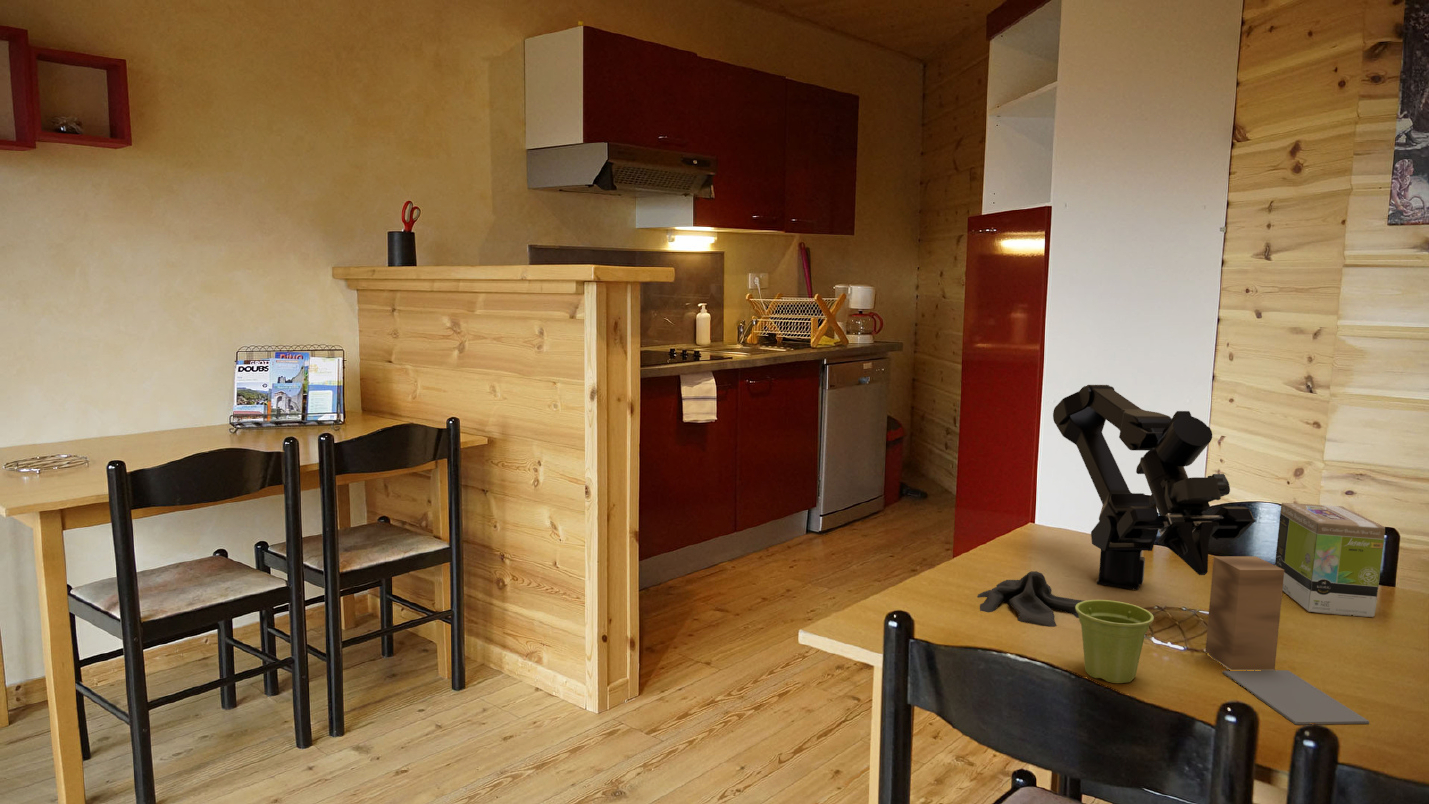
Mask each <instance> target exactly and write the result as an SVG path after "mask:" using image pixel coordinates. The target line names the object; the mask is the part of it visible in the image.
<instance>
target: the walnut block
mask: <svg viewBox="0 0 1429 804" xmlns="http://www.w3.org/2000/svg"><path fill="white" fill-rule="evenodd" d="M1211 572H1212V573H1211V581H1210V583H1211V584H1210V594H1209V595H1210V597H1209V607H1208V618H1207V629H1206V639H1205V641H1206V643H1205V652H1207V653H1209V655H1210V656H1211V657H1212V658H1213V659H1212V658H1211V657H1210V658H1211V659H1212V660H1214V659H1215V660H1216V661H1218V662H1220V663H1221V664H1222V665H1223V667H1224V666H1225V667H1226V668H1225V667H1224V668H1225V669H1227V670H1228V669H1230V670H1246V671H1247V670H1254V671H1255V670H1275V669H1276V661H1277V649H1278V642H1279V641H1278V639H1279V628H1280V619H1281V618H1280V617H1281V609H1282V608H1281V607H1282V597H1283V590H1282V589H1283V579H1284V569H1282V568H1279V567H1277V566H1275V564H1272V563H1270V562H1268V561H1267V560H1264V559H1262V558H1260V557H1259V556H1252V555H1251V556H1249V555H1248V556H1246V555H1245V556H1243V555H1242V556H1238V555H1237V556H1228V555H1227V556H1213V561H1212V571H1211ZM1215 660H1214V661H1215ZM1216 661H1215V662H1216ZM1218 662H1217V663H1218ZM1221 664H1220V665H1221ZM1222 665H1221V666H1222Z"/></svg>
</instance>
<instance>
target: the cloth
mask: <svg viewBox="0 0 1429 804" xmlns="http://www.w3.org/2000/svg"><path fill="white" fill-rule="evenodd" d="M1051 592H1052V588H1051V586H1050V585H1049V584H1048V583H1047V580H1046V578H1045V576H1044V574H1043V573H1042V572H1039V571H1034V570H1033V571H1029V572H1028V573H1026V574H1025V575H1024V576H1022V577H1021V578H1020V579H1006V580H1002V581H1000V582H999V583H998V584H996V586H995V587H993V588H991V589H988V590H985V591H983V592H980V593H978V594H977V596H976V597H977V598H978V599H979V598H986V599H985V600H984V602H982V603H980V604H979V611H980V612H984V613H993V612H994V611H997V610H998V609H997V608H998V606H999V605H1000V604H1001V605H1002V604H1003V603H1006V604H1007V605H1008V606H1011V607H1012V608H1013V610H1014V611H1016V613H1017V615H1018V617H1017V621H1018V622H1020V623H1026V624H1031V625H1037V626H1042V627H1050V628H1055V627H1057V624H1056V621H1055V613H1054V611H1053V610H1055V611H1060V612H1063V613H1067V614H1069V615H1070V614H1071V615H1072V616H1074V617H1075V618H1077V619H1079V614H1078V613H1077V612H1076V609H1075V606H1076V605H1077V604H1078V603H1080V602H1082V601H1085V600H1081V599H1074V598H1069V597H1062V596H1057V595H1054V594H1052V593H1051Z"/></svg>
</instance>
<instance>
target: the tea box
mask: <svg viewBox="0 0 1429 804" xmlns="http://www.w3.org/2000/svg"><path fill="white" fill-rule="evenodd" d="M1385 535H1386V527H1385V526H1383V525H1382V524H1381V523H1377V522H1375V521H1374V520H1372V519H1370V518H1367V517H1365V516H1363V515H1361V514H1359V513H1357V512H1354V511H1352V510H1350V509H1348V508H1346V507H1345V506H1341V505H1340V506H1339V505H1326V504H1310V503H1309V504H1308V503H1297V502H1296V503H1295V502H1281V505H1280V512H1279V523H1278V531H1277V542H1276V550H1275V551H1276V553H1275V563H1274V565H1275V566H1277V567H1279V568H1282V569H1284V579H1283V589H1282V592H1284V593H1285V594H1286V595H1287V596H1289V597H1290V598H1291V599H1292V600H1294V601H1295V602H1297V603H1298V604H1299V605H1300V606H1301V607H1302V608H1304V609H1305V610H1306V611H1307V612H1310V613H1311V612H1312V613H1319V614H1329V615H1340V616H1351V615H1353V617H1363V618H1364V617H1367V618H1369V617H1370V618H1374V616H1375V614H1376V608H1377V601H1378V590H1379V583H1380V577H1381V570H1382V569H1381V567H1382V559H1383V550H1384V546H1385V545H1384V543H1385Z"/></svg>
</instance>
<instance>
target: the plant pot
mask: <svg viewBox="0 0 1429 804" xmlns="http://www.w3.org/2000/svg"><path fill="white" fill-rule="evenodd" d="M1075 609H1076V612H1077V613H1078V614H1079V618H1078V621H1079V622H1080V624H1081V635H1082V647H1083V661H1084V663H1083V664H1084V670H1085V673H1086V674H1088V675H1089V676H1090V677H1091V678H1094V679H1102V680H1104V681H1106V682H1108V683H1113V684H1114V683H1115V684H1127V683H1131V682H1132V681H1133V679H1135V678H1136V676H1137V672H1138V666H1139V663H1140V658H1141V653H1142V649H1143V644H1144V639H1145V636H1146V633H1147V632H1148V631H1149V628H1150V624H1151V623H1153V622H1154V618H1155V617H1154V615H1153V613H1152V612H1150V611H1149V610H1147V609H1145V608H1143V607H1141V606H1138V605H1135V604H1132V603H1128V602H1122V601H1119V600H1117V601H1116V600H1110V599H1109V600H1108V599H1090V600H1089V599H1087V600H1084V601H1082V602H1080V603H1078V604H1077V605H1076V606H1075Z"/></svg>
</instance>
